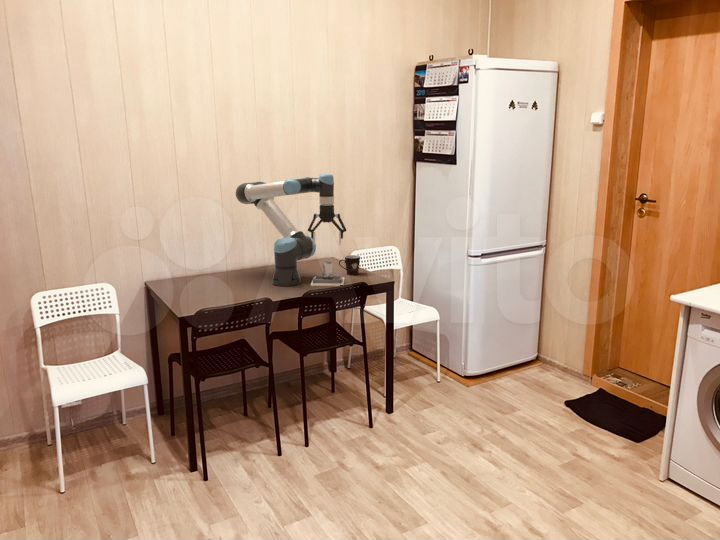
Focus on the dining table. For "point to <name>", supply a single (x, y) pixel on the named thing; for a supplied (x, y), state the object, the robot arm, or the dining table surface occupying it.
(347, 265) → the coffee mug
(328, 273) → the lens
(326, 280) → the grey flat tray
